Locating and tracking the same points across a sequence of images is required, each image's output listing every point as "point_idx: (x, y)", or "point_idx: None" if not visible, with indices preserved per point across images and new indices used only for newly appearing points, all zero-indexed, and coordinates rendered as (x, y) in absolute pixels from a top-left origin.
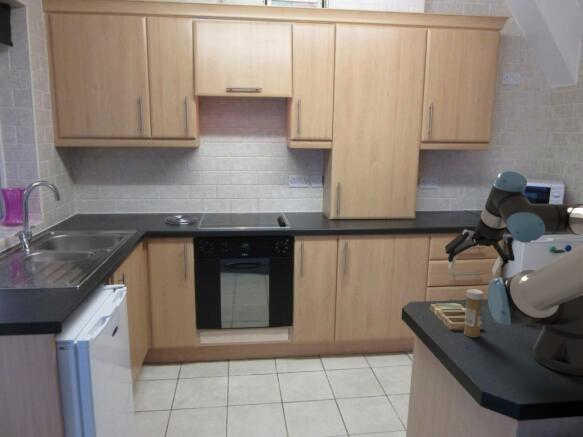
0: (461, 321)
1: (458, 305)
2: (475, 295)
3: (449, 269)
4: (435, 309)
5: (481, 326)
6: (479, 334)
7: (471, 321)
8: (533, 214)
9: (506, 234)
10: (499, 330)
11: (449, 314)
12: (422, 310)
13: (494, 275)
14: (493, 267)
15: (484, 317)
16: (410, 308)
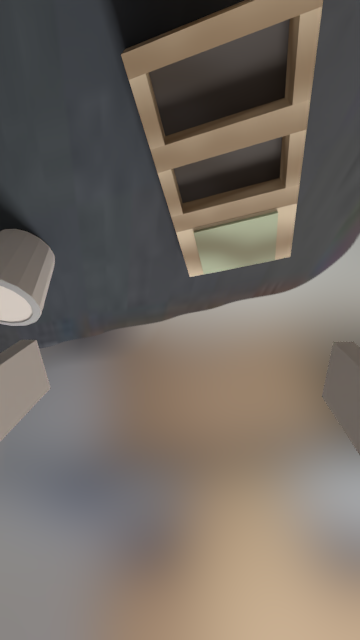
0: (216, 122)
1: (196, 264)
2: None
3: (357, 352)
4: (294, 214)
5: (129, 48)
6: None
7: None
8: None
9: None
10: (42, 60)
11: (247, 190)
12: (315, 233)
13: (28, 342)
14: (30, 402)
15: (115, 217)
16: (349, 241)
